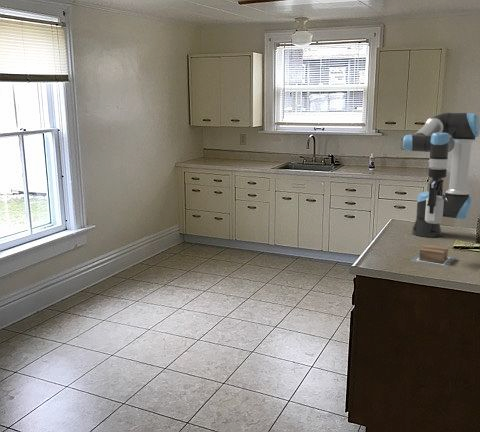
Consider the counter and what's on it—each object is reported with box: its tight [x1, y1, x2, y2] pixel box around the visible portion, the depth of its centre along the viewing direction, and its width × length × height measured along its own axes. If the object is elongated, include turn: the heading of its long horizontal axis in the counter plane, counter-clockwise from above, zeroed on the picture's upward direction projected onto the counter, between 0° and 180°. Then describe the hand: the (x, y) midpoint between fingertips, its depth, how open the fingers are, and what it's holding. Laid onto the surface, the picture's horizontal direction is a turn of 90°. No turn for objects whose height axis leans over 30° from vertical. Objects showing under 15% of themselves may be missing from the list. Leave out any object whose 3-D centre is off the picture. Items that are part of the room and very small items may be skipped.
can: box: [425, 196, 444, 224], centre depth 235 cm, size 8×8×12 cm
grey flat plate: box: [409, 252, 457, 268], centre depth 239 cm, size 18×16×1 cm
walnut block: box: [419, 244, 449, 264], centre depth 238 cm, size 10×10×5 cm
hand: (433, 218), depth 236 cm, fingers closed on can, 7 cm apart
